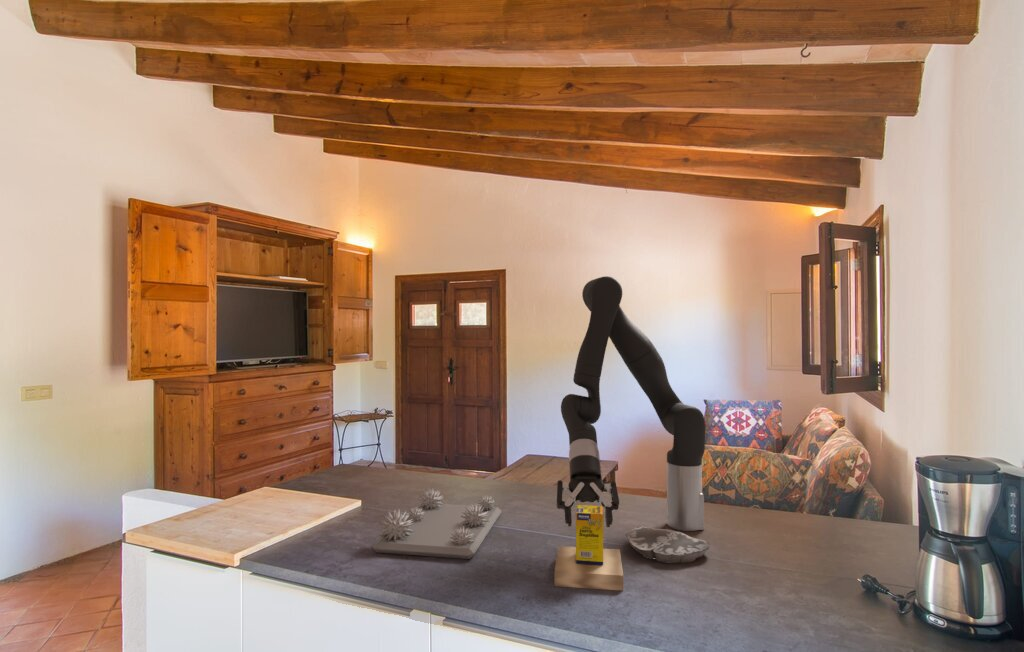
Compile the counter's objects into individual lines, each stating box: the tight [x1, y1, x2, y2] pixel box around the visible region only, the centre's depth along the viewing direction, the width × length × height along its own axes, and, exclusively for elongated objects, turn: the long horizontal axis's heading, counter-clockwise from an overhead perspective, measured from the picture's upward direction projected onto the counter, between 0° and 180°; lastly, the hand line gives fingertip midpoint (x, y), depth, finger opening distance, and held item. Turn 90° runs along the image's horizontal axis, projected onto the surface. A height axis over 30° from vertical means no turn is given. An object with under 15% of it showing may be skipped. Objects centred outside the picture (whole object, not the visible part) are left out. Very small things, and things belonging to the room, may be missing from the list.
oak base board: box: [554, 545, 624, 592], centre depth 117 cm, size 14×14×3 cm
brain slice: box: [625, 526, 711, 564], centre depth 129 cm, size 20×17×3 cm
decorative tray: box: [372, 488, 502, 560], centre depth 143 cm, size 35×26×10 cm
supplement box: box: [575, 504, 604, 565], centre depth 118 cm, size 6×6×11 cm
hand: (589, 525), depth 120 cm, fingers open, 8 cm apart
